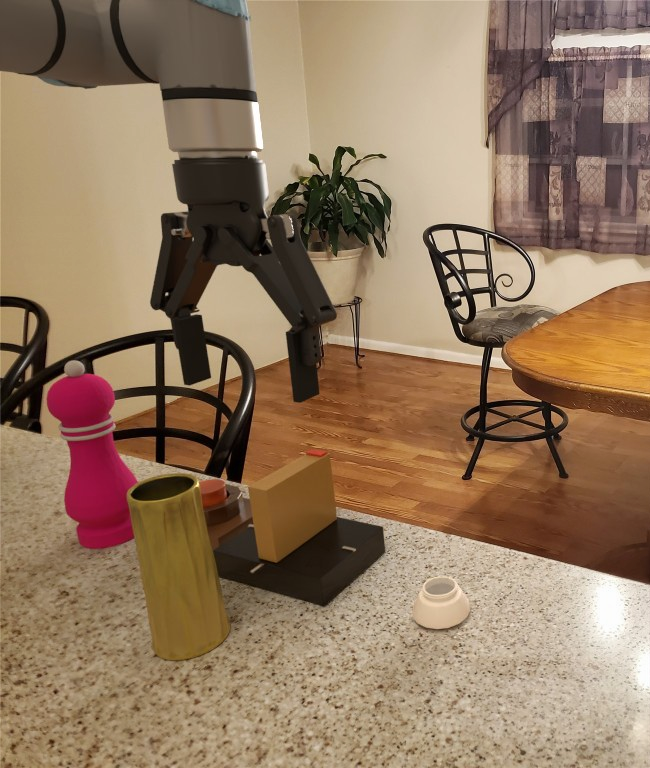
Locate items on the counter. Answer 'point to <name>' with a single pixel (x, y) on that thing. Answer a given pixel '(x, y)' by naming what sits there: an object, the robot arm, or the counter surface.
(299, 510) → the yellow block
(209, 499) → the button
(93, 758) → the counter surface
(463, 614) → the white jar
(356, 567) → the black square base
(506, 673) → the counter surface
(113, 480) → the pepper mill
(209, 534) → the drain block
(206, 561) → the vase
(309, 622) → the counter surface
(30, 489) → the counter surface
